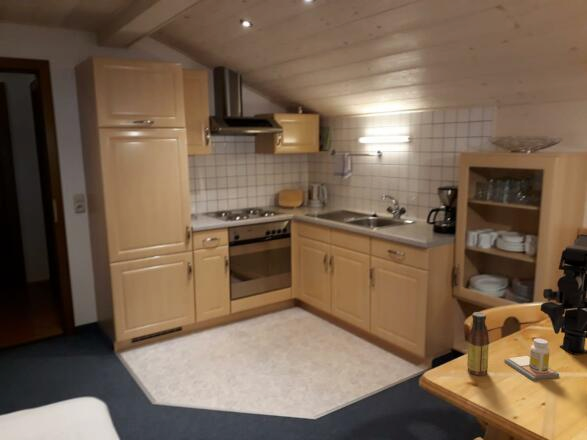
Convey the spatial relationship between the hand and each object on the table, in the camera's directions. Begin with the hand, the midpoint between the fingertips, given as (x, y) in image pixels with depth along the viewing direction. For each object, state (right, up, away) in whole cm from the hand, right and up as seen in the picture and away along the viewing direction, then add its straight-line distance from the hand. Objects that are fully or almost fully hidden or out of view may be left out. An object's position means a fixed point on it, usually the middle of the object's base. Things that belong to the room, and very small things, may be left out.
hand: (567, 332), depth 153 cm
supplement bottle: (-11, -12, -2) cm, 16 cm away
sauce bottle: (-30, -13, -1) cm, 33 cm away
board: (-12, -12, +1) cm, 17 cm away
